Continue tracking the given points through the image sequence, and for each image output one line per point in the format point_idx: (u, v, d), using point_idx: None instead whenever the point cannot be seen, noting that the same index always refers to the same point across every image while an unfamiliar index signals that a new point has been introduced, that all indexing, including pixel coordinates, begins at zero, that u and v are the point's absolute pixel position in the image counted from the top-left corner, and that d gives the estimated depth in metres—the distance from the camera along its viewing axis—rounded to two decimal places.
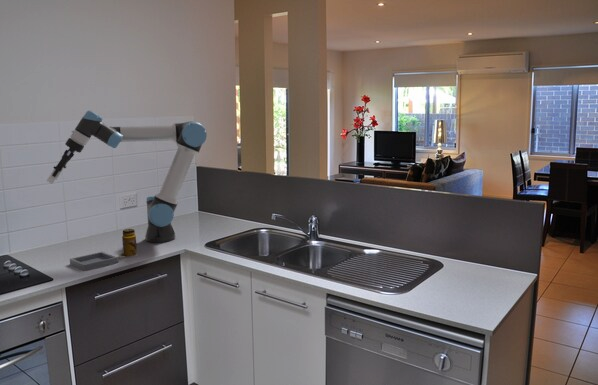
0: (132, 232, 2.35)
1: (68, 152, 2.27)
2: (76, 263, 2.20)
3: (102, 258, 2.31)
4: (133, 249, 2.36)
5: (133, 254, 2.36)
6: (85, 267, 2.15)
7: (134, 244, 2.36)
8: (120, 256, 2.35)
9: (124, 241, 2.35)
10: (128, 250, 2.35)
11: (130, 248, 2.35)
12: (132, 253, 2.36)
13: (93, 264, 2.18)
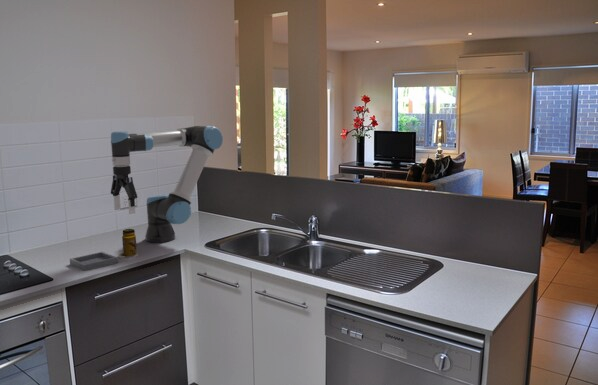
0: (132, 232, 2.35)
1: (129, 179, 2.27)
2: (76, 263, 2.20)
3: (102, 258, 2.31)
4: (133, 249, 2.36)
5: (133, 254, 2.36)
6: (85, 267, 2.15)
7: (134, 244, 2.36)
8: (120, 256, 2.35)
9: (124, 241, 2.35)
10: (128, 250, 2.35)
11: (130, 248, 2.35)
12: (132, 253, 2.36)
13: (93, 264, 2.18)
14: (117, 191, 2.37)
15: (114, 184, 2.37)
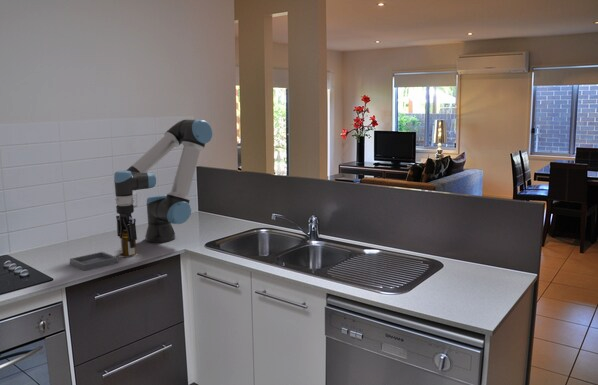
0: None
1: (132, 221, 2.31)
2: (76, 263, 2.20)
3: (102, 258, 2.31)
4: None
5: (133, 254, 2.37)
6: (85, 267, 2.15)
7: (134, 244, 2.37)
8: (120, 256, 2.36)
9: (124, 241, 2.35)
10: None
11: None
12: None
13: (93, 264, 2.18)
14: None
15: (119, 225, 2.39)
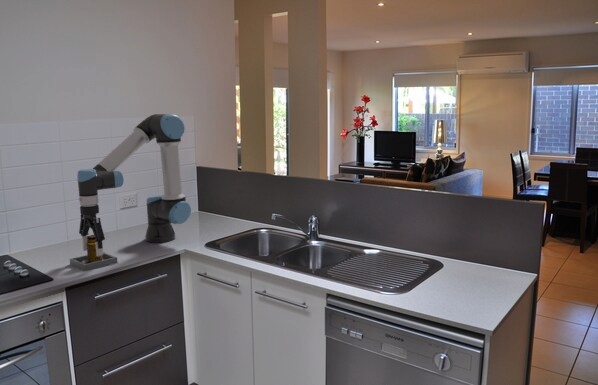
0: None
1: (96, 220, 2.17)
2: (76, 263, 2.20)
3: None
4: (98, 256, 2.23)
5: None
6: (85, 267, 2.15)
7: None
8: None
9: (88, 248, 2.22)
10: (93, 258, 2.22)
11: (95, 256, 2.22)
12: (97, 260, 2.23)
13: (93, 264, 2.18)
14: (85, 231, 2.26)
15: (82, 223, 2.26)
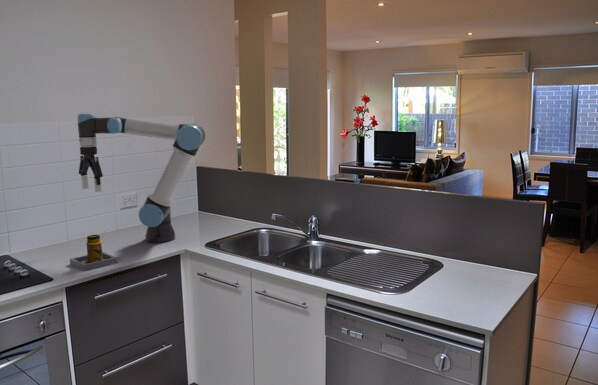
0: (97, 238, 2.22)
1: (95, 158, 2.39)
2: (76, 263, 2.20)
3: None
4: (98, 256, 2.23)
5: None
6: (85, 267, 2.15)
7: (99, 251, 2.24)
8: None
9: (88, 248, 2.22)
10: (93, 258, 2.22)
11: (95, 256, 2.22)
12: (97, 260, 2.23)
13: (93, 264, 2.18)
14: (84, 171, 2.49)
15: (82, 164, 2.49)
